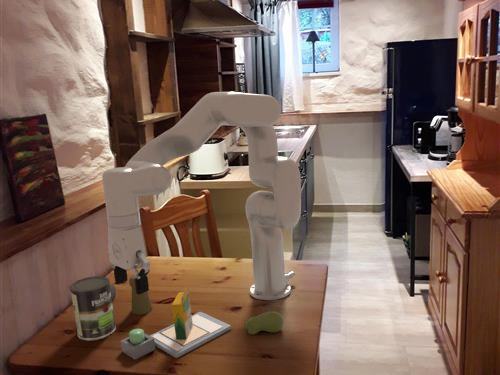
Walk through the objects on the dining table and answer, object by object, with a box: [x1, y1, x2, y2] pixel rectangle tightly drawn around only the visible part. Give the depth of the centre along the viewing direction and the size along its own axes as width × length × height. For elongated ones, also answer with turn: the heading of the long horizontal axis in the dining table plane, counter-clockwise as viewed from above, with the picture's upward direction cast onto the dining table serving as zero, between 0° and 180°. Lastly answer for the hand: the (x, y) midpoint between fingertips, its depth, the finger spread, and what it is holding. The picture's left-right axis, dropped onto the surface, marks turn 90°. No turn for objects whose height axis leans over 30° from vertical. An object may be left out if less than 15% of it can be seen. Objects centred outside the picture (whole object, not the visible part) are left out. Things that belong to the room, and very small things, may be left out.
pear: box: [244, 310, 285, 336], centre depth 132 cm, size 6×5×10 cm
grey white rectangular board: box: [149, 311, 232, 359], centre depth 133 cm, size 18×13×1 cm
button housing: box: [120, 332, 156, 361], centre depth 127 cm, size 6×6×3 cm
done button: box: [128, 328, 145, 346], centre depth 127 cm, size 4×4×4 cm
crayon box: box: [171, 285, 193, 340], centre depth 131 cm, size 7×3×12 cm, turn 173°
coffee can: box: [69, 275, 117, 342], centre depth 137 cm, size 10×10×14 cm
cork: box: [128, 273, 153, 316], centre depth 149 cm, size 6×6×11 cm
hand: (131, 287), depth 124 cm, fingers open, 9 cm apart
